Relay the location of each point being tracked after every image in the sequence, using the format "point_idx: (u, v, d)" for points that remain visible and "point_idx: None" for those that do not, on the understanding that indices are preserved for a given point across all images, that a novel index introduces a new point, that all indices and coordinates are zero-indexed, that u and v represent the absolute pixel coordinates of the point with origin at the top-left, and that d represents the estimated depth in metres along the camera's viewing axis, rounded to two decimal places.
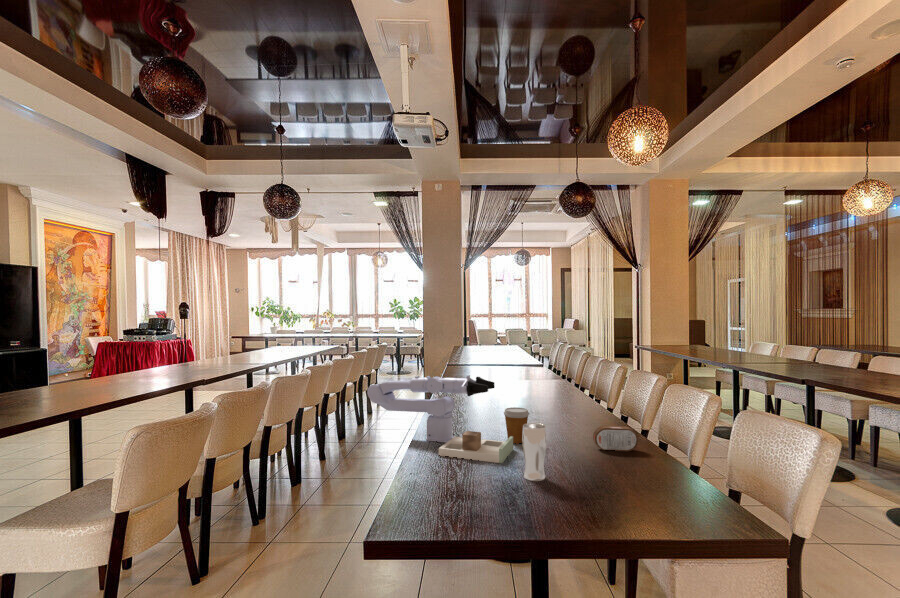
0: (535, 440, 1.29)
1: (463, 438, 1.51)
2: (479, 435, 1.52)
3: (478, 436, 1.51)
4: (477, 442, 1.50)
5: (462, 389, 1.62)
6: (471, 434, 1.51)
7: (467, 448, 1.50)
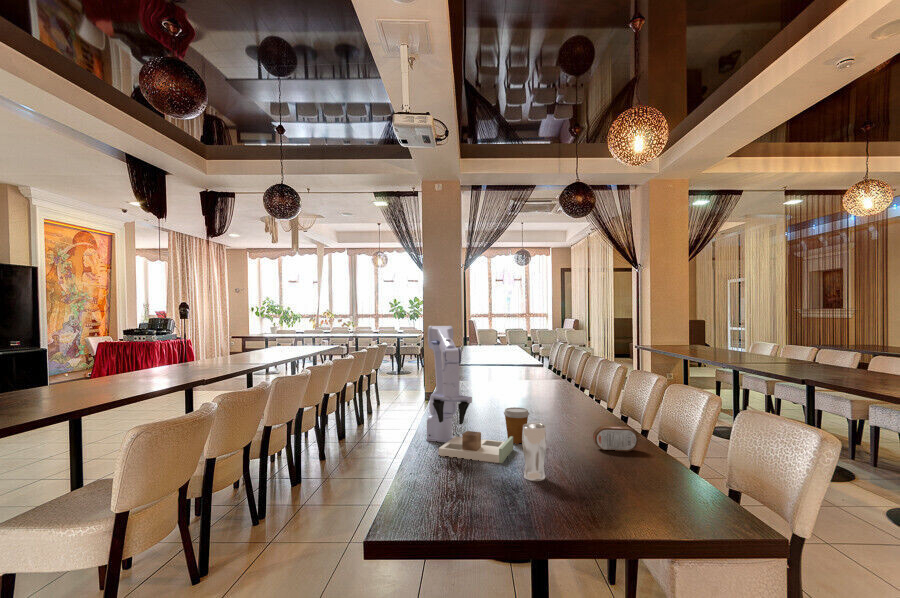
0: (535, 440, 1.29)
1: (463, 438, 1.51)
2: (479, 435, 1.52)
3: (478, 436, 1.51)
4: (477, 442, 1.50)
5: None
6: (471, 434, 1.51)
7: (467, 448, 1.50)
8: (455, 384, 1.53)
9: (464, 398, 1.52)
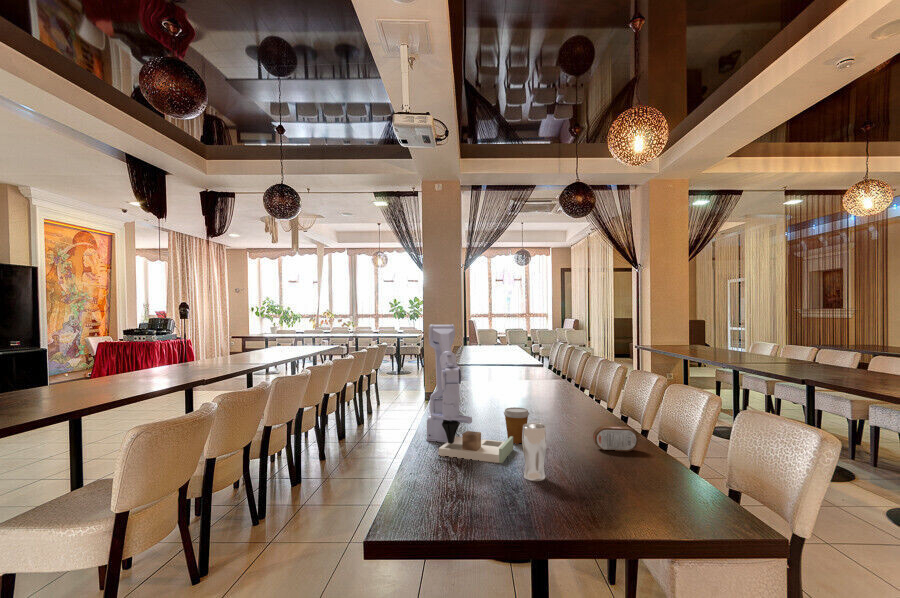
0: (535, 440, 1.29)
1: (463, 438, 1.51)
2: (479, 435, 1.52)
3: (478, 436, 1.51)
4: (477, 442, 1.50)
5: None
6: (471, 434, 1.51)
7: (467, 448, 1.50)
8: (455, 404, 1.53)
9: (464, 418, 1.52)
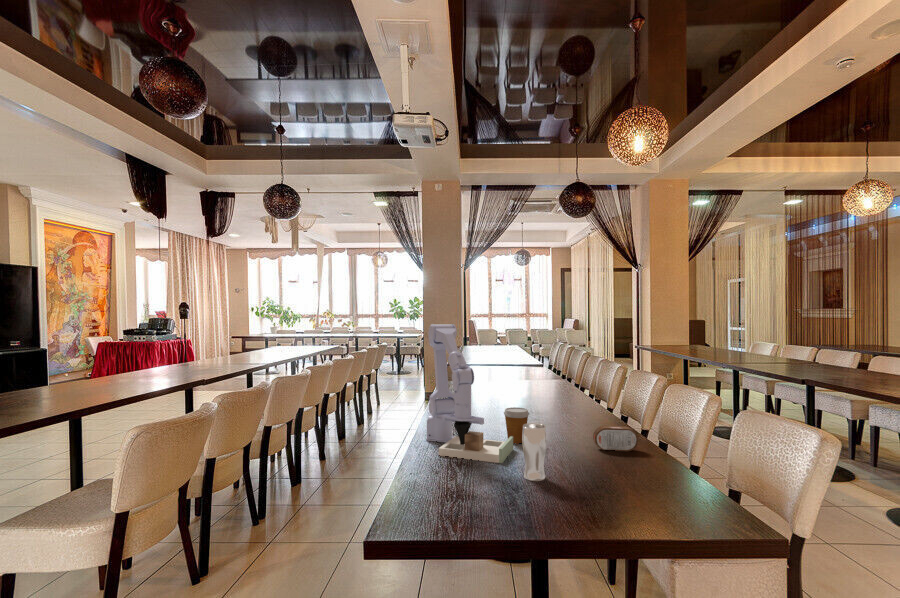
0: (535, 440, 1.29)
1: (465, 438, 1.50)
2: (481, 435, 1.52)
3: (480, 436, 1.51)
4: (479, 442, 1.50)
5: None
6: (473, 434, 1.51)
7: (469, 448, 1.50)
8: (467, 405, 1.51)
9: (476, 419, 1.51)
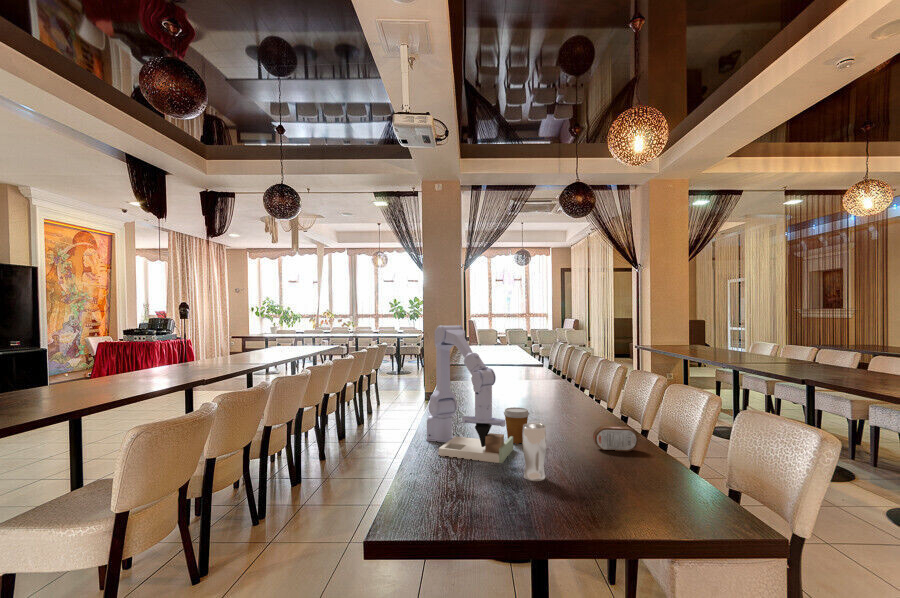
0: (535, 440, 1.29)
1: (486, 440, 1.48)
2: (502, 437, 1.49)
3: (501, 438, 1.48)
4: (500, 444, 1.47)
5: None
6: (494, 436, 1.48)
7: (490, 451, 1.47)
8: (488, 407, 1.49)
9: (497, 421, 1.48)
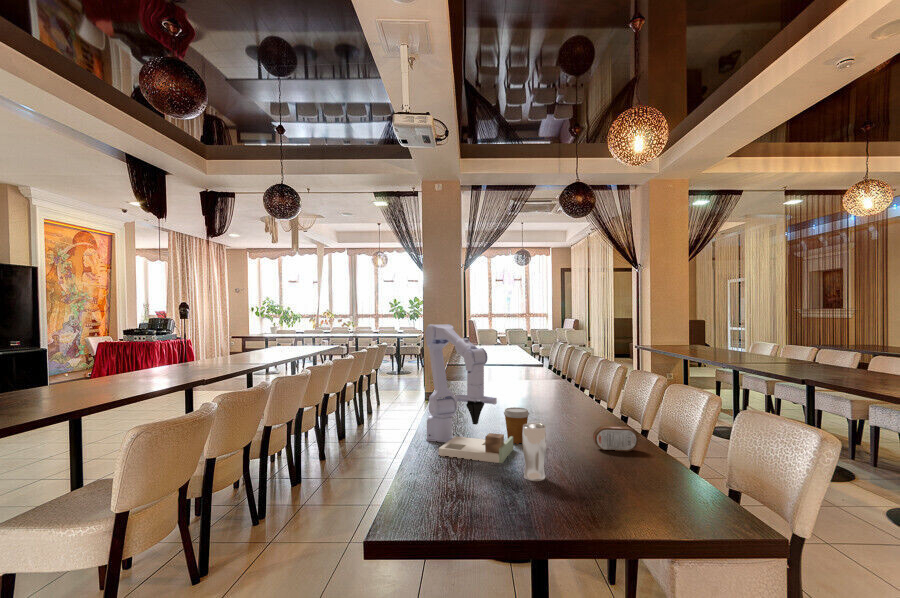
0: (535, 440, 1.29)
1: (486, 440, 1.48)
2: (502, 437, 1.49)
3: (501, 438, 1.48)
4: (500, 444, 1.47)
5: None
6: (494, 436, 1.48)
7: (490, 451, 1.47)
8: (480, 385, 1.52)
9: (489, 399, 1.51)
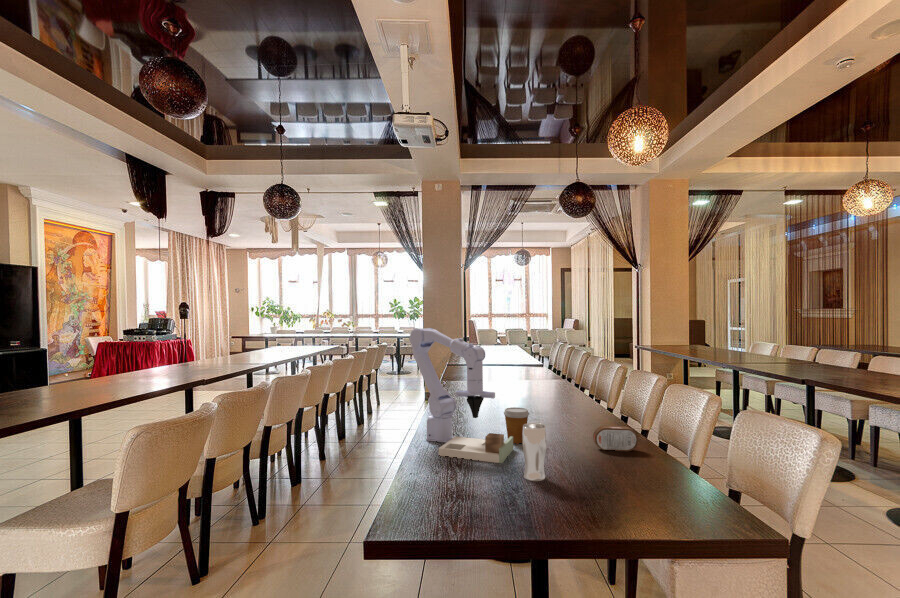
0: (535, 440, 1.29)
1: (486, 440, 1.48)
2: (502, 437, 1.49)
3: (501, 438, 1.48)
4: (500, 444, 1.47)
5: None
6: (494, 436, 1.48)
7: (490, 451, 1.47)
8: (479, 380, 1.62)
9: (488, 394, 1.61)
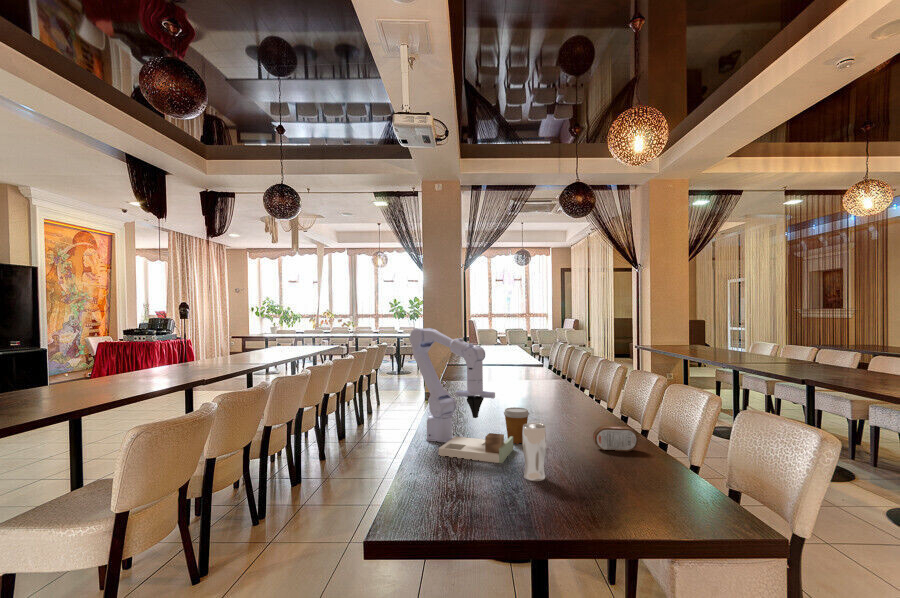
0: (535, 440, 1.29)
1: (486, 440, 1.48)
2: (502, 437, 1.49)
3: (501, 438, 1.48)
4: (500, 444, 1.47)
5: None
6: (494, 436, 1.48)
7: (490, 451, 1.47)
8: (479, 380, 1.62)
9: (488, 394, 1.61)
